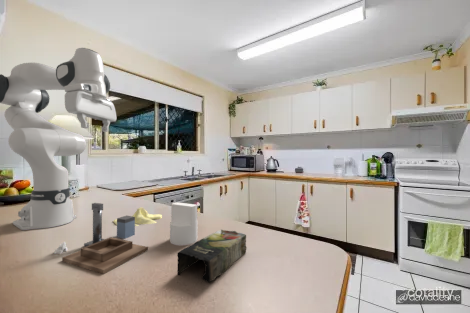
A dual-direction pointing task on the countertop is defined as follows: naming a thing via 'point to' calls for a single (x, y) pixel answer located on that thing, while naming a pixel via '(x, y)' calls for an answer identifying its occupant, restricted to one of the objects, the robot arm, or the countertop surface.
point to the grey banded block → (125, 226)
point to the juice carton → (214, 253)
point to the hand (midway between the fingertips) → (95, 129)
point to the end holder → (105, 255)
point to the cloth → (143, 217)
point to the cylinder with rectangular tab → (183, 223)
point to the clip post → (96, 223)
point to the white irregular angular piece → (61, 248)
